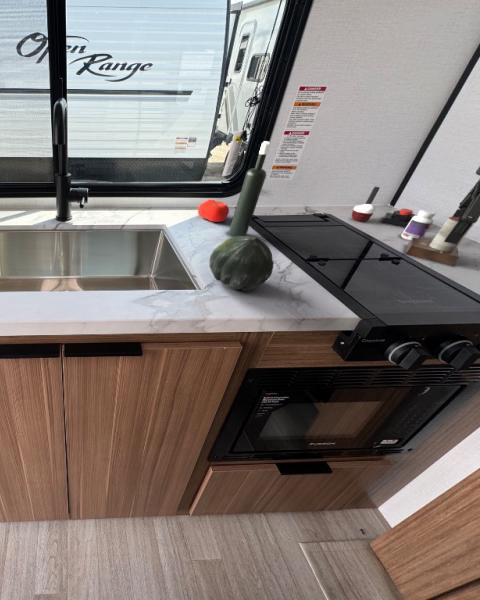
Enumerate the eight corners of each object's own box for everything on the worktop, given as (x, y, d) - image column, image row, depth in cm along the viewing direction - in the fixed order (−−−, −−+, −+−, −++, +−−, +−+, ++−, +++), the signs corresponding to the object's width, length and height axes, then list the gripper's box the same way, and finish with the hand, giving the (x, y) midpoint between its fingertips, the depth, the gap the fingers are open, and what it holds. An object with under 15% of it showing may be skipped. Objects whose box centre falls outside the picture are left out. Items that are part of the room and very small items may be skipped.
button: (410, 214, 123) (413, 210, 122) (410, 217, 121) (413, 212, 120) (398, 212, 125) (401, 207, 124) (398, 214, 123) (400, 210, 122)
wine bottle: (249, 236, 113) (281, 142, 95) (236, 238, 111) (266, 143, 94) (237, 230, 117) (266, 139, 100) (224, 232, 115) (252, 140, 98)
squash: (231, 244, 95) (227, 216, 82) (283, 264, 86) (288, 237, 74) (203, 283, 94) (195, 261, 82) (253, 308, 86) (253, 287, 74)
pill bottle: (421, 242, 111) (440, 215, 105) (402, 239, 113) (419, 212, 108) (418, 237, 115) (436, 210, 109) (399, 233, 117) (416, 207, 111)
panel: (455, 256, 103) (462, 247, 101) (456, 267, 97) (463, 257, 95) (407, 244, 109) (413, 236, 108) (405, 254, 103) (411, 245, 102)
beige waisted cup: (453, 247, 101) (474, 219, 96) (453, 253, 98) (476, 224, 92) (429, 242, 104) (449, 214, 99) (429, 247, 101) (449, 219, 95)
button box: (416, 224, 125) (422, 214, 123) (415, 230, 120) (422, 219, 118) (383, 217, 130) (389, 207, 128) (381, 222, 126) (387, 212, 123)
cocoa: (359, 224, 124) (376, 193, 117) (343, 218, 128) (358, 188, 122) (375, 221, 127) (392, 190, 120) (358, 216, 131) (375, 186, 125)
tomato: (213, 226, 120) (218, 209, 116) (192, 216, 128) (195, 200, 124) (231, 221, 124) (236, 204, 120) (209, 212, 132) (213, 196, 128)
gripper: (481, 152, 95) (433, 222, 108) (489, 166, 81) (433, 244, 93) (518, 156, 91) (464, 228, 104) (534, 172, 77) (469, 253, 89)
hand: (449, 236), depth 99 cm, fingers open, 12 cm apart
